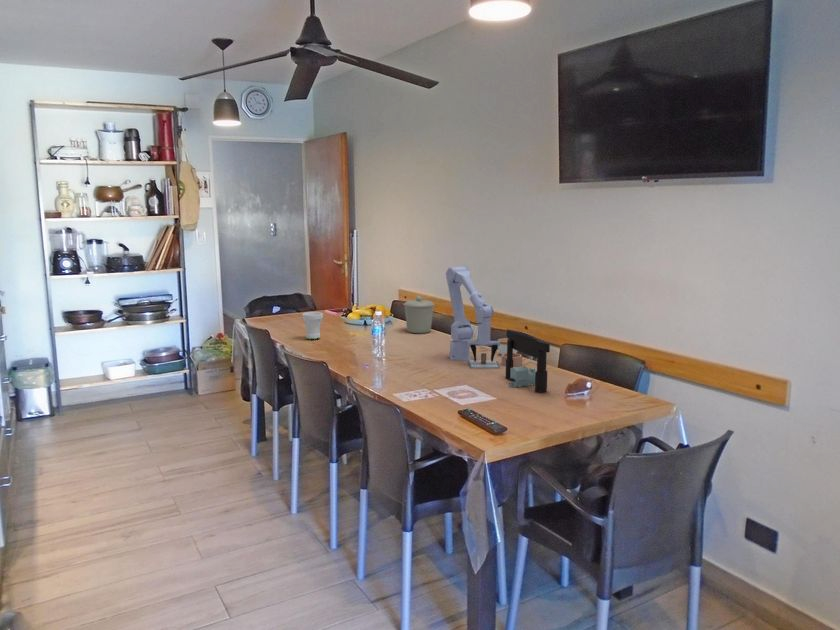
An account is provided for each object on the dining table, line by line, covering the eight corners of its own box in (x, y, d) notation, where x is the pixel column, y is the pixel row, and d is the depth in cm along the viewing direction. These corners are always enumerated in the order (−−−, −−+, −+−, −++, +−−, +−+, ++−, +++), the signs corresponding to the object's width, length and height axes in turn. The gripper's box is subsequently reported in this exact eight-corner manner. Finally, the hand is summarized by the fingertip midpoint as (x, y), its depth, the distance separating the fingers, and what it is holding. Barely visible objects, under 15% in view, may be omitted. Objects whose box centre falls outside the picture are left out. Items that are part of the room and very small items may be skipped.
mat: (469, 369, 295) (469, 368, 295) (467, 361, 309) (467, 361, 309) (500, 369, 295) (500, 368, 295) (496, 361, 309) (496, 361, 309)
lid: (471, 367, 296) (471, 356, 295) (469, 361, 308) (469, 350, 307) (498, 367, 296) (498, 356, 295) (495, 361, 308) (495, 350, 307)
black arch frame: (522, 325, 285) (566, 340, 255) (521, 373, 289) (564, 393, 258) (490, 328, 279) (531, 343, 249) (489, 376, 283) (530, 397, 253)
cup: (306, 336, 367) (305, 311, 364) (326, 337, 365) (325, 312, 363) (300, 340, 356) (299, 315, 353) (320, 341, 354) (319, 315, 352)
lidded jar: (518, 358, 316) (518, 339, 314) (495, 357, 318) (496, 338, 316) (519, 353, 326) (520, 335, 324) (497, 352, 328) (498, 334, 327)
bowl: (503, 367, 299) (503, 357, 298) (500, 362, 308) (500, 353, 307) (522, 367, 299) (523, 357, 298) (519, 362, 308) (519, 353, 307)
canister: (441, 331, 381) (441, 295, 378) (419, 336, 368) (419, 299, 365) (418, 327, 393) (418, 292, 390) (396, 332, 380) (396, 295, 377)
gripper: (468, 333, 295) (468, 363, 298) (501, 333, 296) (500, 363, 298) (467, 330, 302) (467, 359, 305) (499, 330, 303) (498, 359, 305)
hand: (483, 361), depth 302 cm, fingers open, 7 cm apart
